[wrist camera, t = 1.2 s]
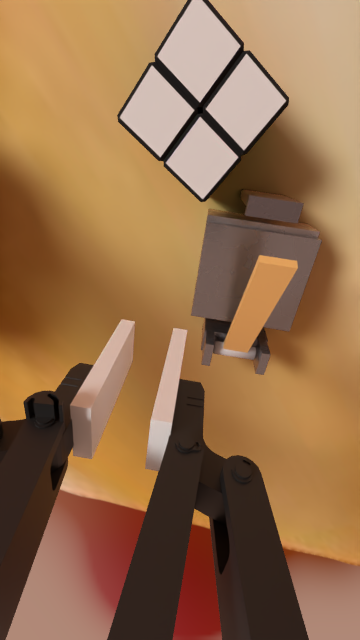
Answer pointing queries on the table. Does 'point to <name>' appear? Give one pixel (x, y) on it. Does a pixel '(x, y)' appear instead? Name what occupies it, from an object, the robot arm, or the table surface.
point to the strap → (256, 305)
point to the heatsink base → (251, 265)
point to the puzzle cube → (202, 100)
